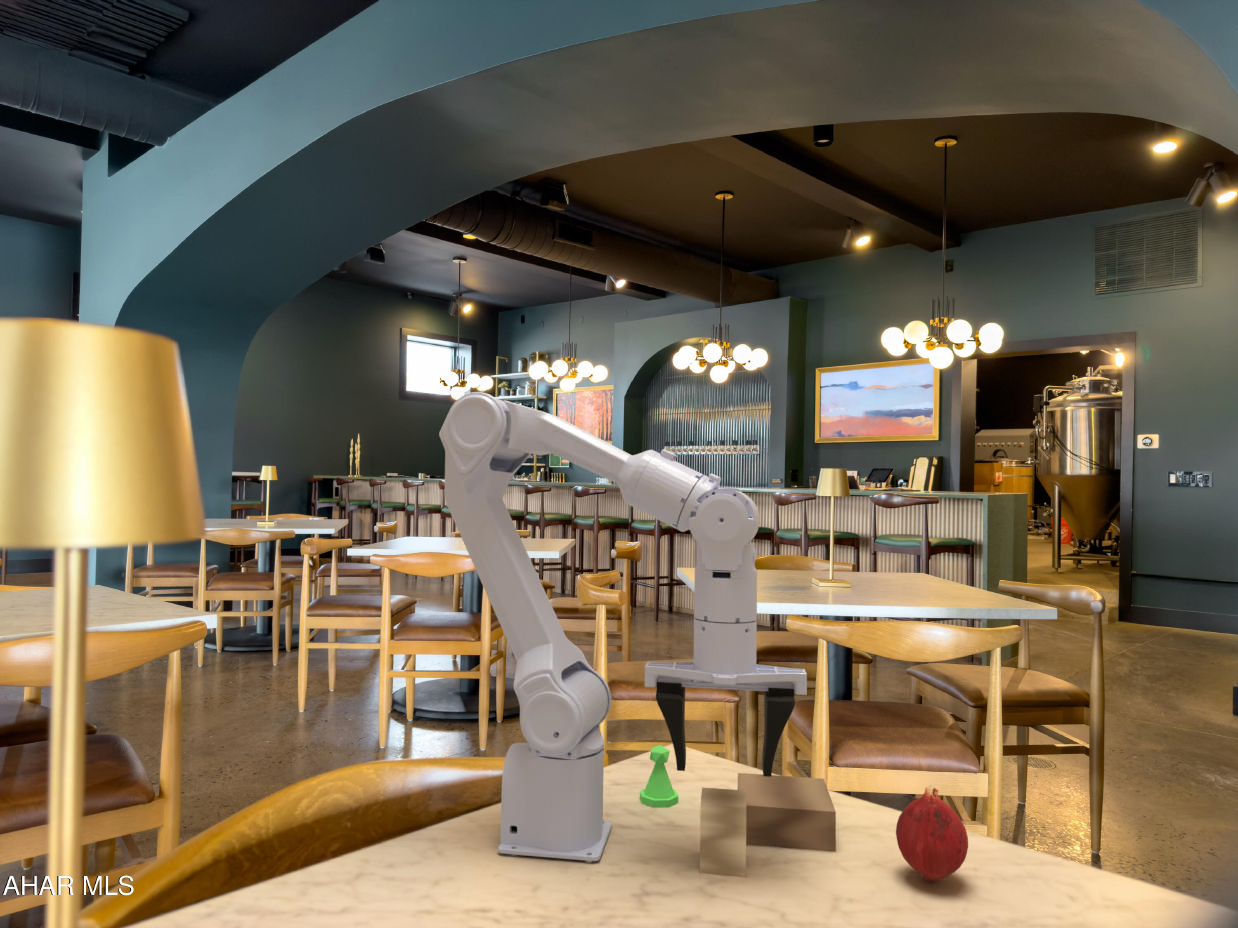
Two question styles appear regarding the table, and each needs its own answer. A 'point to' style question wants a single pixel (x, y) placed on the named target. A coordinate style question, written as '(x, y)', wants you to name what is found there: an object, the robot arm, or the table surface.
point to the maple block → (723, 832)
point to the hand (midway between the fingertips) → (723, 769)
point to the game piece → (659, 782)
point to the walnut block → (788, 812)
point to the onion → (932, 837)
